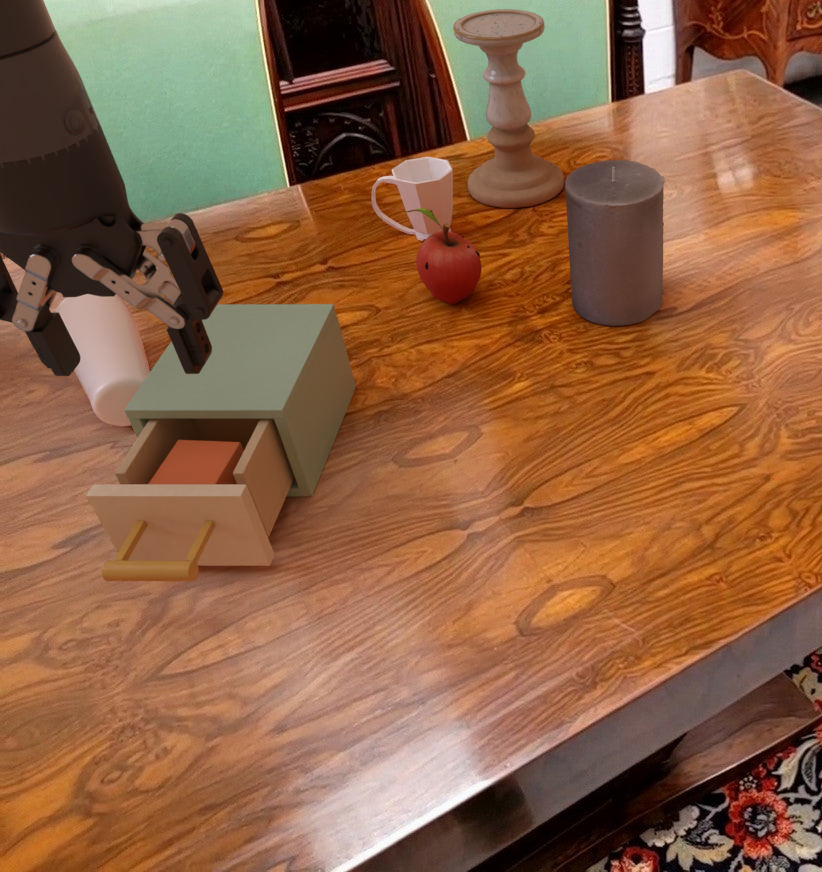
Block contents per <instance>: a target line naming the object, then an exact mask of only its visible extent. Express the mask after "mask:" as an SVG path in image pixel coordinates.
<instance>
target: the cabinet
mask: <svg viewBox="0 0 822 872" xmlns="http://www.w3.org/2000/svg"><path fill="white" fill-rule="evenodd" d="M202 322H203V325H204V327H205V330H206V332H207V335H208V337H209V340H210V342H211V345H212V353H211V355H210V357H209V358H208V360H207V362H206V363H205V365H204V366H203V368H202V370H201V371H200V373H199V374H186V373H185V372H184V369H183V367H182V365H181V362H180V360H179V358H178V355H177V353H176V351H175V348H174V346H173V344H172V341H171V340H170V342H169V344H168V345H167V347H165V349H164V351H163V353H162V354H161V355H160V357H159V358H158V360H157V361H156V362H155V364H154V365H153V367H152V369H150V373H149V374H148V376H147V377H146V379H145V380H144V382H143V383H142V385H141V386H140V388H139V389H138V390H137V392H136V393H135V395H134V396H133V398H132V399H131V401H130V402H129V404H128V405H127V406H126V408H125V409H124V411H125V413H126V415H127V417H128V419H129V421H130V423H131V427H132V430H133V432H134V434H135V437H136V439H137V438H138V436H139V435H140V433H141V432H142V430H143V429H144V427H145V426H146V424H147V422H148V421H149V419H274V420H275V423H276V426H277V428H278V431H279V434H280V437H281V440H282V442H283V445H284V448H285V451H286V454H287V457H288V459H289V462H290V465H291V468H292V471H293V473H294V476H295V477H294V480H293V482H292V484H291V487H290V489H289V491H288V494H287V496H286V497H313V495H314V493H315V491H316V488H317V485H318V483H319V481H320V478H321V476H322V473H323V470H324V469H325V466H326V463H327V461H328V458H329V455H330V453H331V450H332V448H333V446H334V443H335V441H336V438H337V435H338V433H339V430H340V428H341V426H342V423H343V420H344V418H345V416H346V413H347V411H348V409H349V406H350V403H351V401H352V398H353V397H354V393H355V391H356V388H357V385H356V381H355V378H354V374H353V369H352V366H351V362H350V358H349V355H348V352H347V348H346V344H345V340H344V337H343V333H342V330H341V326H340V322H339V319H338V315H337V311H336V308H335V305H334V303H275V304H274V303H257V304H255V303H249V304H248V303H246V304H244V303H240V304H239V303H238V304H237V303H236V304H235V303H234V304H233V303H232V304H230V303H227V304H222V303H218V304H217V306H216V307H215V309H214V310H213V312H212V313H211V315H210V317H209V318H208V319H205V320H202Z"/></svg>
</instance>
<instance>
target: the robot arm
mask: <svg viewBox="0 0 822 872" xmlns="http://www.w3.org/2000/svg"><path fill="white" fill-rule="evenodd" d="M147 247H149V248H151V249H152V250H154V251H155V252H156V254H157V257H155V256H154V255H153V254H151V253H150V252H149V251H147V250H146V248H147ZM207 252H208V251H207V250H206V247H205V246H204V243H203V240H202V238H201V236H200V235H199V232H198V230H197V227H196V224H195V223H194V220H193V219H192V218H191V217H190V216H189V215H188V214H185V213H181V212H179V213H176V214H174V215H173V216H172V218H171V219H170V220H169V221H165V222H152V223H151V222H150V223H144V222H143V221H142V220H141V219H140V218H139V217H138V216H137V214H135V213H134V211H133V209H132V208H131V207H130V204H129V199H128V194H127V188H126V184H125V181H124V178H123V176H122V174H121V171H120V169H119V166H118V164H117V162H116V159H115V157H114V154H113V152H112V150H111V147H110V144H109V143H108V139H107V138H106V135H105V133H104V130H103V128H102V125H101V123H100V120H99V118H98V116H97V113H96V111H95V108H94V106H93V104H92V101H91V98H90V96H89V93H88V90H87V89H86V86H85V84H84V81H83V80H82V77H81V74H80V72H79V71H78V68H77V66H76V65H75V63H74V61H73V59H72V58H71V56H70V54H69V52H68V50H67V49H66V47H65V45H64V43H63V42H62V40H61V37H60V35H59V33H58V31H57V30H56V27H55V25H54V23H53V20H52V18H51V15H50V13H49V11H48V8H47V5H46V3H45V0H0V321H3V322H8V323H11V324H13V326H14V327H15V328H16V329H18V330H20V331H23V332H24V333H25V335H26V336H27V338H28V340H29V342H30V344H31V346H32V348H33V350H34V351H35V353H36V355H37V357H38V359H39V360H40V362H41V363H42V364H43V365H44V366H45V368H47V369H50V370H51V372H52V374H53V375H54V376H55V377H69V376H71V375H72V373H74V370H75V368H76V367H77V366H78V364H79V363H80V359H81V358H80V354H79V351H78V350H77V348H76V346H75V344H74V342H73V340H72V338H71V336H70V334H69V332H68V330H67V328H66V326H65V324H64V322H63V320H62V318H61V316H60V314H59V312H56V313H55V312H52V311H51V308H52V307H53V304H54V301H55V298H56V296H57V293H59V294H61V296H62V297H63V298H66V297H78V296H82V295H85V294H90V295H95V296H100V297H114V296H115V295H117V296H119V297H120V298H121V299H122V300H123V301H124V302H125V303H128V304H129V305H130V306H132V307H133V308H134V309H136V310H137V309H138V310H142V309H143V310H144V309H145V310H147V311H148V312H149V313H151V314H152V315H153V316H155V317H156V318H158V319H159V320H160V321H161V322H163V323H164V324H165V325H166V326H168V327H167V328H166V331H167V334H168V337H169V339H170V342H171V341H172V344H173V346H174V348H175V351H176V353H177V355H178V358H179V360H180V362H181V365H182V367H183V369H184V372H185V373H186V374H199V373H200V371H201V370H202V368H203V366H204V365H205V363H206V362H207V360H208V358H209V357H210V355H211V353H212V345H211V342H210V340H209V337H208V335H207V332H206V330H205V327H204V325H203V322H202V320H205V319H208V318H209V317H210V315H211V313H212V312H213V310H214V309H215V307H216V306H217V304H219V303H220V301H221V299H222V298H223V296H224V289H223V287H222V285H221V283H220V280H219V277H218V275H217V273H216V271H215V268H214V266H213V263H212V262H211V258H210V257H209V254H208V253H207ZM2 255H3V256H4V257H6V258H7V259H9V260H10V261H11V262H13V263H14V264H15V265H17V266H18V267H20V268H21V269H22V270H23V271H25V272H24V274H23V275H24V276H23V277H22V280H21V283H20V287H19V289H18V290H17V288H16V285H15V283H14V281H13V279H12V277H11V274H10V273H9V270H8V268H7V266H6V264H5V260H4V259H3V257H2ZM164 263H166V265H167V266H166V265H165V264H164ZM137 271H138V272H140V273H141V274H142V276H144V278H145V281H144V282H143V284H140V283H138V282H136V281H135V280H133V278H134V277H135V276H136V274H137Z"/></svg>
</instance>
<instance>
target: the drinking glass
mask: <svg viewBox="0 0 822 872" xmlns="http://www.w3.org/2000/svg"><path fill="white" fill-rule="evenodd" d="M56 312H59V314H60V316H61V318H62V320H63V322H64V324H65V326H66V328H67V330H68V332H69V334H70V336H71V338H72V340H73V342H74V344H75V346H76V348H77V350H78V351H79V354H80V358H81V359H80V363H79V364H78V366H77V367H76V368H75V370H74V371H73V373H74V374H75V376H76V378H77V380H78V382H79V384H80V386H81V387H82V389H83V391H84V393H85V395H86V398H87V399H88V401H89V404H90V407H91V409H92V411H93V413H94V415H95V416H96V417H97V418H98V419H99V420H100V421H102V422H103V423H104V424H105V423H106V424H107V425H109V426H110V425H111V426H113V427H114V426H115V427H132V425H131V423H130V421H129V419H128V417H127V415H126V413H125V411H124V409H125V408H126V406H127V405H128V404H129V402H130V401H131V399H132V398H133V396H134V395H135V393H136V392H137V390H138V389H139V388H140V386H141V385H142V383H143V382H144V380H145V379H146V377H147V376H148V374H149V373H150V371H151V369H150V364H149V361H148V357H147V354H146V349H145V346H144V342H143V338H142V335H141V331H140V328H139V326H138V323H137V321H136V319H135V316H134V314H133V313H132V311H131V310H130V308H129V306H128V304H127V302H126V301H125V300H124V299H122V298H121V297H120V296H118V295H117V294H116V295H115V296H114V297H100V296H95V295H90V294H85V295H82V296H78V297H64V298H63V300H62V301H60V303H59V304H58V305H57V307H56V308H55V312H54V313H56Z"/></svg>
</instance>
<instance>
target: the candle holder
mask: <svg viewBox="0 0 822 872" xmlns="http://www.w3.org/2000/svg"><path fill="white" fill-rule="evenodd" d="M545 26H546V25H545V20H544V19H543V17H542V16H540V15H539V14H538V13H535V12H532V11H527V10H523V9H515V8H514V9H513V8H497V9H487V10H481V11H476V12H473V13H469V14H466V15H464V16H462V17H460V18H459V19H457V20H456V21H455V22H454V23H453V26H452V31H453V35H454V37H455V38H456V39H457V40H458V41H460V42H462V43H464V44H467V45H471V46H476V47H479V49H480V50H481V52H483V53H485V55H486V58H487V62H488V63H487V67H486V68H485V69H484V71H483V73H482V77H483V79H484V80H485V81H486V82H487V83H488V100H487V106H486V111H485V118H486V121H487V122H488V124H489V125H490V126H491V129H490V130H489V131H488V132H487V135H486V138H487V141H488V143H489V144H491V146H492V147H493V148H494V157H491V158H490V159H488V160H487V161H485V162H484V163H483V164H481V165H479V166H478V167H476V168H475V169H473V171H472V172H471V173H470V174H469V176H468V179H467V189H468V193H469V194H470V196H471V197H472V198H473V199H474V200H476V201H477V202H479V203H481V204H483V205H486V206H490V207H494V208H501V209H502V208H503V209H519V208H520V209H521V208H527V207H533V206H536V205H540V204H543V203H545V202H548V201H550V200H552V199H553V198H555V197H557V196H558V195H559V194H560V193H561V192H562V191H563V189H564V187H565V176H564V172H563V170H562V169H561V167H559V166H558V165H557V164H556V163H554V162H553V161H550V160H547V159H545V158H544V157H541V156H539V155H536V154H533V152H532V149H531V144H532V143H533V141H534V140H535V138H536V133H535V130H534V129H533V128H532V127H531V126H530V125H529V124H528V123H529V122H530V121H531V118H532V109H531V107H530V104H529V102H528V99H527V97H526V93H525V92H524V88H523V83H522V80H523V79H525V77H526V73H527V72H526V70H525V68H524V67H522V66H521V65H520V63H519V61H518V54H519V51H520V50H521V49H522V48H523V46H524V44H526V43H529V42H531V41H533V40H536V39H537V38H539V37H540V36H542V35H543V33H544V32H545V28H546V27H545Z"/></svg>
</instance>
